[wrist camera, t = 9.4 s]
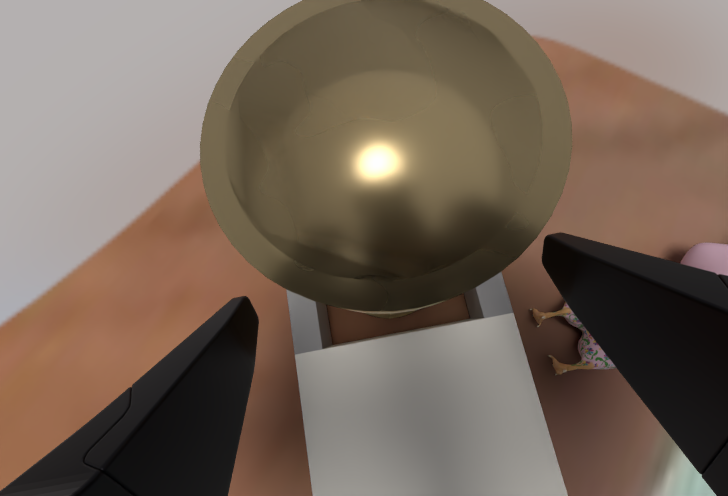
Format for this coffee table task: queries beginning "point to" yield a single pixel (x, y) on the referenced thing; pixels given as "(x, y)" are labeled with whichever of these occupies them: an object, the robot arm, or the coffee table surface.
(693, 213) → the coffee table surface
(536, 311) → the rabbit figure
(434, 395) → the grey holder base
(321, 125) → the brass fitting
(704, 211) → the coffee table surface
